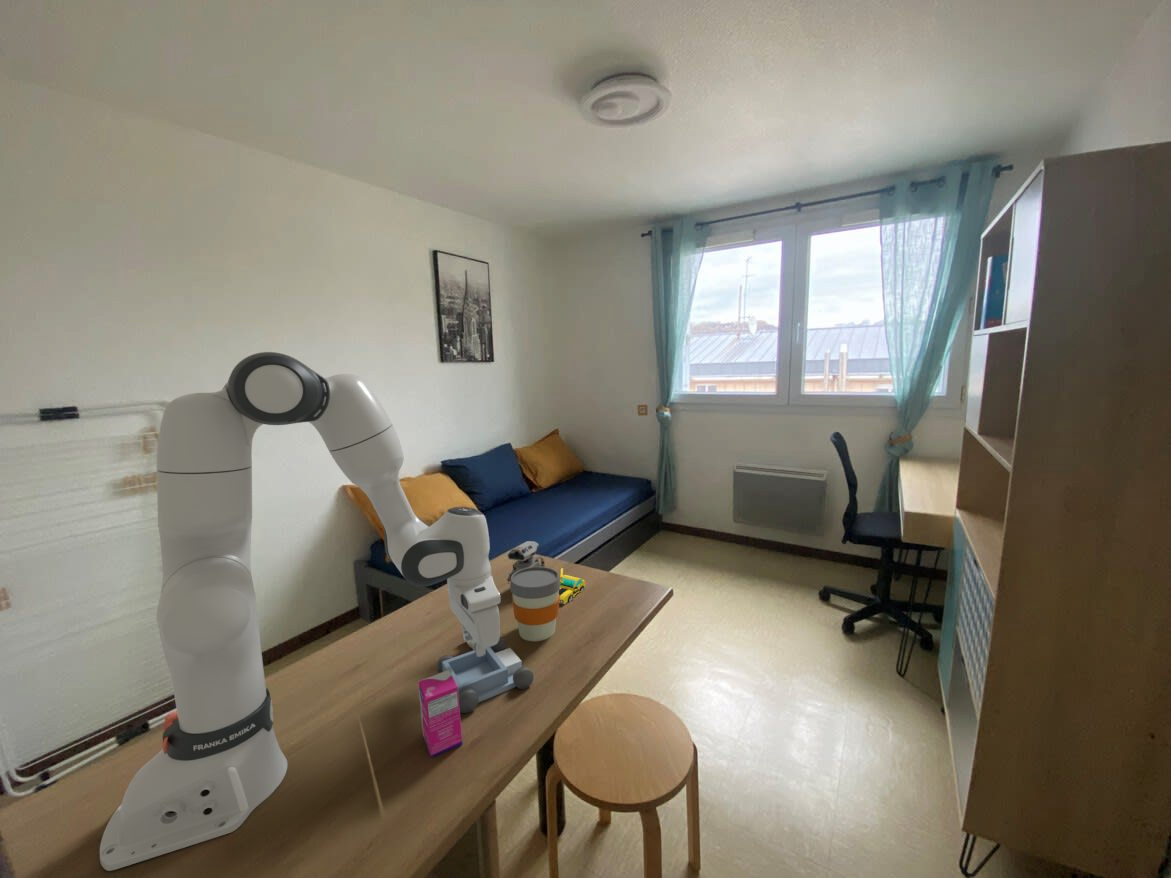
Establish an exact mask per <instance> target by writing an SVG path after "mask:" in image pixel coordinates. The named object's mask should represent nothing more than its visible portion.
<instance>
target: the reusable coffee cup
mask: <svg viewBox="0 0 1171 878" xmlns="http://www.w3.org/2000/svg"><path fill="white" fill-rule="evenodd" d="M509 586H510V587H509V590H510V592H511V596H512V597H511V603H512V604H511V606H512V609H513V610H512V611H513V615H514V619H515V620H516V623H517V627H518V629H517V630H518V633H519V636H520V638H522V639H523V640H525V641H529V642H541V641H544V640H547V639H550V638H551V637H552V636H553V635H554V634H555V631H556V625H557V624H556V623H557V617H558V615H559V609H560V603H559V601H560V595H559V589H560V587H561V584H560V573H559V572H558V571H557V570H556V569H554V568H552V567H549V566H548V567H547V566H545V567H528V568H524V569H521V570H518V571H517V572H515V573H514V574H513V575H512V576H511V581H510V582H509Z"/></svg>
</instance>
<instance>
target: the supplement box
mask: <svg viewBox="0 0 1171 878" xmlns="http://www.w3.org/2000/svg"><path fill="white" fill-rule="evenodd" d="M417 685H418V686H417V687H418V697H419V707H420V709H419V710H420V718H421V726H422V728H421V729H422V737H423V739H424V743H425V744H426V747H427V749H428V752H429V755H430V758H434V757H436V756H438V755H441V754H443V753H445V752H447V751H449V750H452V749H454V748H456V747H458V746H462V745H463V744H464V743H463V732H462V731H463V730H462V719H461V711H460V706H459V695H458V686H457V684H456V682H455V680H454V678H453V677H452V675H451V673H450V671H449V670H446V671H444V672H441V673H437V674H434V675H432V676H429V677H426V678H423V679H420V680H418V681H417Z"/></svg>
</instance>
